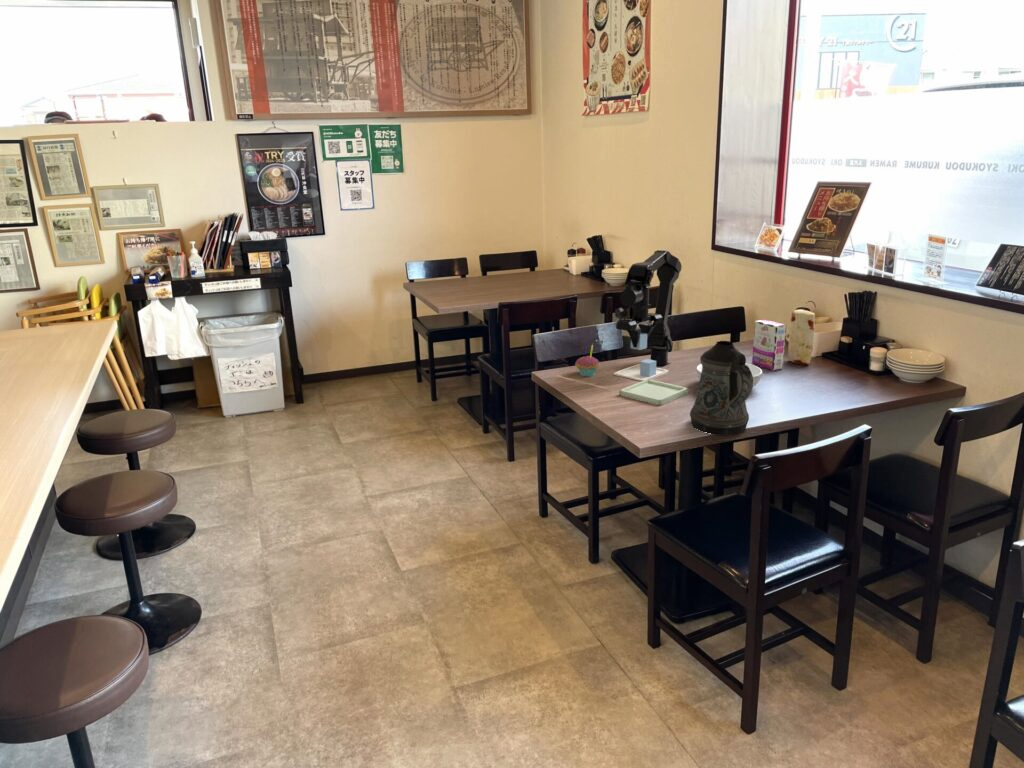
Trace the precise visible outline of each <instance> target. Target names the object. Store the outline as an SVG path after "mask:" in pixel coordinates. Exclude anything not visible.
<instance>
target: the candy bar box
mask: <svg viewBox="0 0 1024 768" xmlns="http://www.w3.org/2000/svg"><path fill="white" fill-rule="evenodd" d="M786 336H787V324H784V323H780V322H777V321H776V322H775V321H772V320H769V319H759V320H754V330H753V342H752V343H753V345H752V359H751V365H754V364H755V365H754V366H757V365H758V366H757V367H760V366H761V368H763V367H764V368H763V369H766V368H767V370H769V369H770V370H769V371H772V370H773V372H774V370H776V371H780V370H779V369H781V370H783V369H784V362H785V361H784V360H785V359H784V358H785V350H786V349H785V348H786V347H785V346H786V338H787V337H786Z"/></svg>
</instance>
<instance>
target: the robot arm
mask: <svg viewBox="0 0 1024 768" xmlns="http://www.w3.org/2000/svg"><path fill="white" fill-rule="evenodd" d="M682 268H683V267H682V263H681V261H680V259H679V258H678V257H676V256H675V255H673V254H672V253H671V252H670V251H668V250H662V249H660V250H659V249H657V250H655V251H654V252H653V254H652V255H650V256H649V257H648V258H646V259H645V260H644V261H641V262H635V263H633V264H632V265H630V267H629V269H628V271H627V275H626V277H625V278H626V279H625V282H624V286H625V289H624V290H622V292H621V293H620V295H619V300H620V303H621V304H622V305H623V306H625V307H627V308H625V309H623V307H619V308H618V307H617V308H615V310H614V316H615V317H616V319H618V320H617V321H616V322H615V329H617V330H622V331H626V332H627V333H628V335H629V338H630V342H631V341H632V344H633V347H637V344H638V341H639V337H640V333H646V334H647V348H646V350H650V360H654V361H656V367H657V368H663V367H666V366H668V365H671V364H672V363H671V362H669V358H668V357H669V355H668V354H669V352H672V351H673V349H674V342H673V340H672V337H671V331H670V327H669V326H668V319H669V312H670V307H671V306H670V305H671V299H672V291H673V286H674V284H675V282H676V281H677V280H678V279H679V276H680V273H681V271H682ZM654 272H656V276H657V278H658V281H659V286H658V292H657V299H656V305H655V312H654V313H653V312H649V309H650V308H652V304H651V303H649V301H650V288H651V283H652V280H653V278H654V275H655V273H654Z"/></svg>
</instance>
